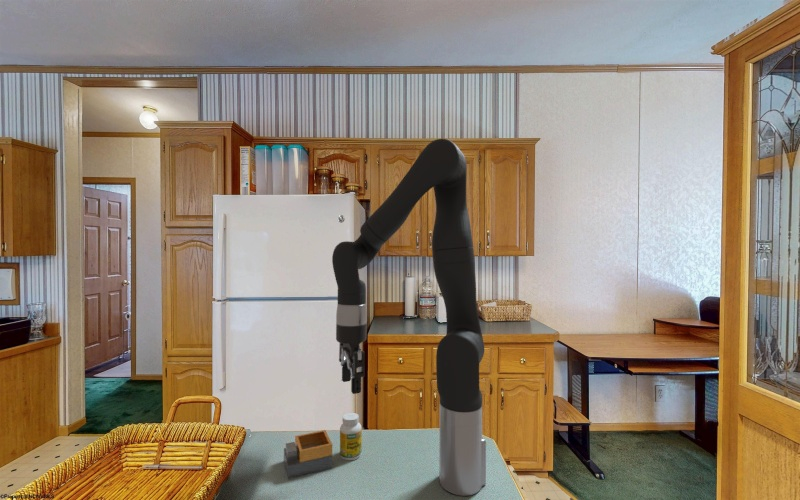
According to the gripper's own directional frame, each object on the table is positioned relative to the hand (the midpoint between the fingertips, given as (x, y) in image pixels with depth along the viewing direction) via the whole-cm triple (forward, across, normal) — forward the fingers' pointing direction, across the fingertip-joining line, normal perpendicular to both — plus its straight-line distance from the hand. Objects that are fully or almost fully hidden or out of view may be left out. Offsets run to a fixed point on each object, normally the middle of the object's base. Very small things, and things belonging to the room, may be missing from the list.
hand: (351, 386), depth 89 cm
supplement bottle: (+17, 0, 0) cm, 17 cm away
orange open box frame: (+17, 0, +10) cm, 20 cm away
